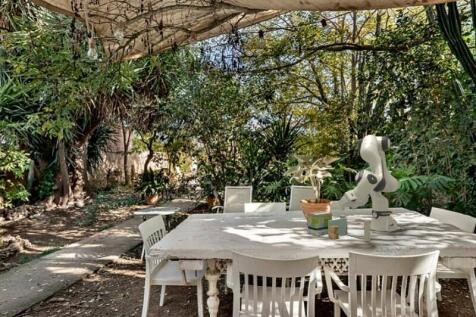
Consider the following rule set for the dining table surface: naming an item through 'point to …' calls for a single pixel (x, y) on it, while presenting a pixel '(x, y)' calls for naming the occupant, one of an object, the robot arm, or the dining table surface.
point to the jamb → (367, 230)
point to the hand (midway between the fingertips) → (346, 209)
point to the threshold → (355, 236)
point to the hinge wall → (342, 216)
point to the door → (339, 225)
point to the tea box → (318, 222)
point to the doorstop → (333, 232)
